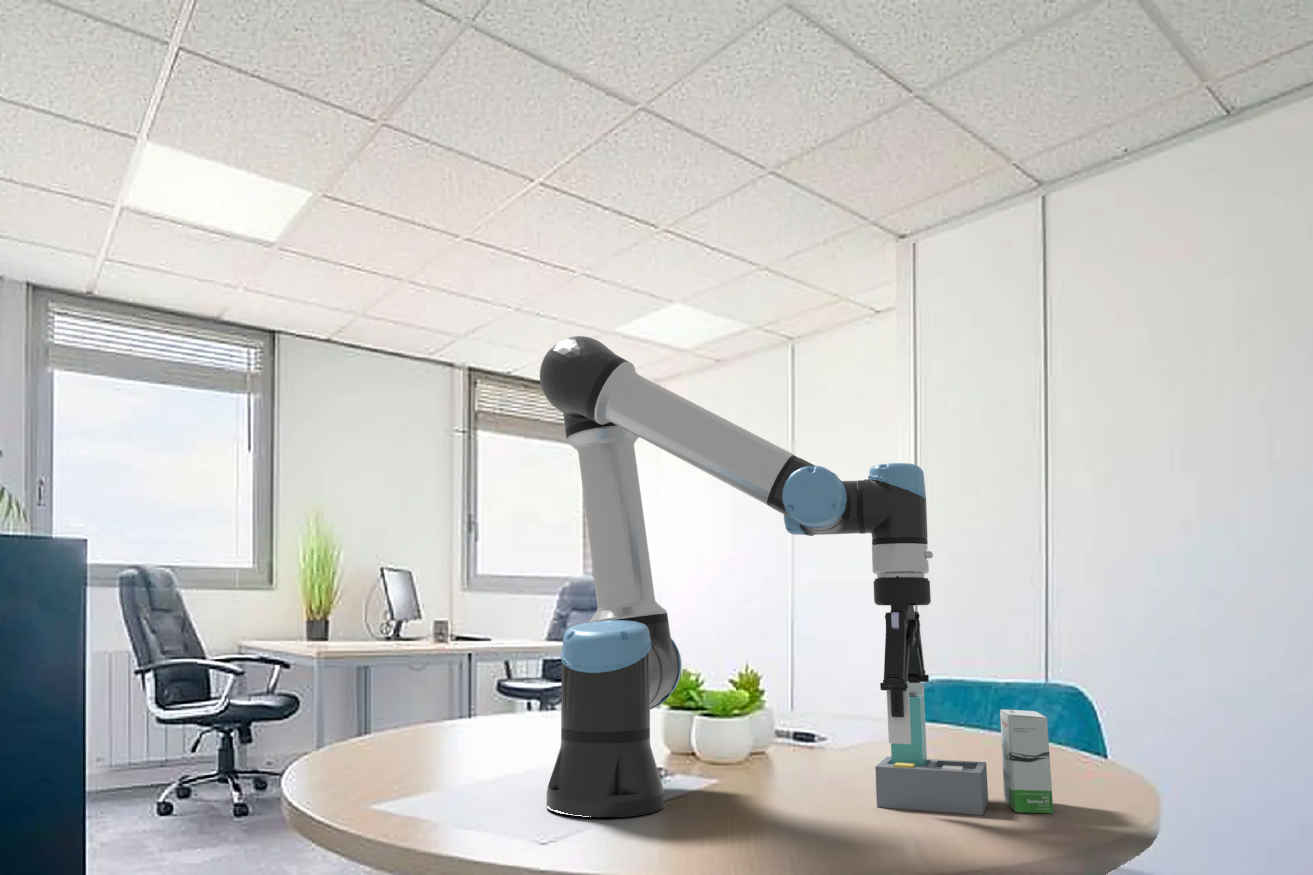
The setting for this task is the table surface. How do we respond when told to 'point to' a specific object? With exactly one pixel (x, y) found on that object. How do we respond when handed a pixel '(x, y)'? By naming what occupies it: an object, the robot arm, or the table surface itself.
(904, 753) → the plug
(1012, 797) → the ink box
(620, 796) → the robot arm
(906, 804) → the socket block
